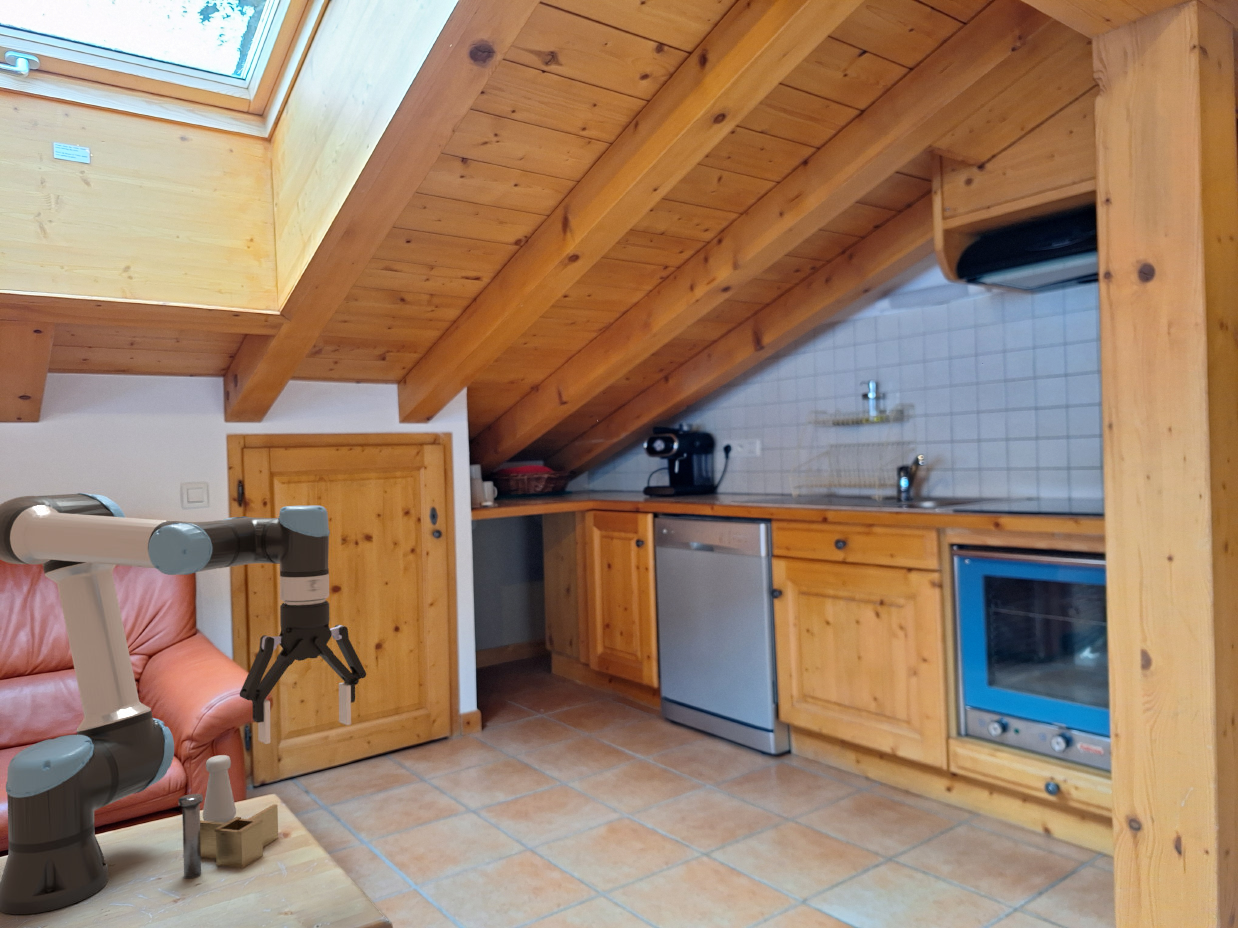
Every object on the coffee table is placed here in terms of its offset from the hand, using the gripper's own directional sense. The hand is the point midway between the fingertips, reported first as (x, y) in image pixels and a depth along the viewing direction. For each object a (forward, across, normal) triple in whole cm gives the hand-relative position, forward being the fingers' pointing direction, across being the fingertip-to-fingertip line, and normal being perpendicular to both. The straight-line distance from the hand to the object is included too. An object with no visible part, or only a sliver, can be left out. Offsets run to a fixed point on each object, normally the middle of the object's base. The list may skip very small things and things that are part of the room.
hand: (306, 732), depth 143 cm
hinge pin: (+24, -12, +17) cm, 32 cm away
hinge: (+24, -3, +21) cm, 32 cm away
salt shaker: (+25, -1, +35) cm, 43 cm away
